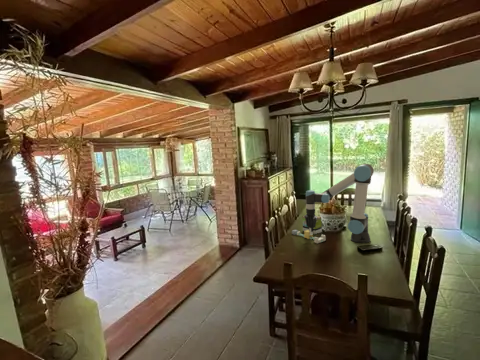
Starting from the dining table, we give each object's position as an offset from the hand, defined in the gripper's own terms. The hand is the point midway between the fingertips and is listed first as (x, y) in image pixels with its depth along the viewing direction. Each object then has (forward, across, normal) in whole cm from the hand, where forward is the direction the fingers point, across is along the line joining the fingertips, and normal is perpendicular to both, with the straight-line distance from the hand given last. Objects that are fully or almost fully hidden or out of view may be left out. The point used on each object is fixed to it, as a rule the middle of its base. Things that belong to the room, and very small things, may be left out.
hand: (311, 234), depth 247 cm
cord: (+4, +5, 0) cm, 6 cm away
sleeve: (+4, +3, 0) cm, 5 cm away
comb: (+4, -9, 0) cm, 10 cm away
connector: (+4, +19, 0) cm, 20 cm away
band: (+4, +15, 0) cm, 15 cm away
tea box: (+4, +13, -16) cm, 21 cm away
